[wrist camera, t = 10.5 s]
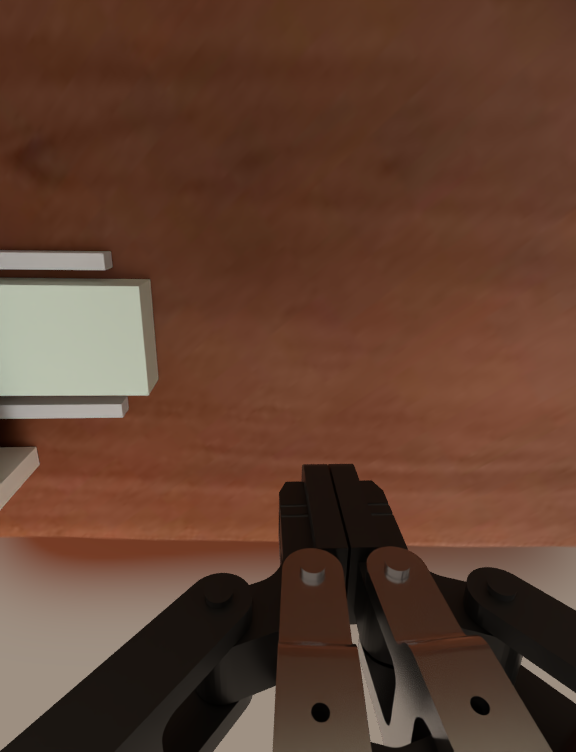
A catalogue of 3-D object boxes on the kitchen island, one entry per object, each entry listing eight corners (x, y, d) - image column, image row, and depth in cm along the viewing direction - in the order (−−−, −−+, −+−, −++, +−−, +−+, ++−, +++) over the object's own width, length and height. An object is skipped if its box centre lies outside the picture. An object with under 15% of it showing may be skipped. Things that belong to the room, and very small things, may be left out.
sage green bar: (-107, 276, 29) (-146, 283, 26) (150, 279, 30) (138, 286, 27) (-78, 379, 31) (-112, 396, 28) (158, 379, 32) (148, 395, 29)
